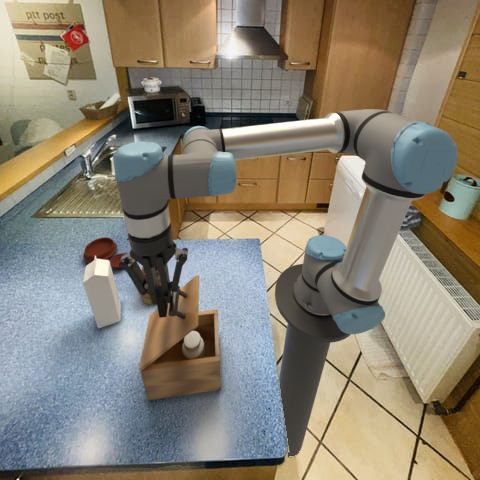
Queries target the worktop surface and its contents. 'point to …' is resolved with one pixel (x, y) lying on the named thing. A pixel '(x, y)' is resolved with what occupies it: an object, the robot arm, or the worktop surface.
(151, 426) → the worktop surface
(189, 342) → the supplement bottle
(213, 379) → the chest
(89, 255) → the pottery
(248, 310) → the worktop surface
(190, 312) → the chest lid
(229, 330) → the worktop surface
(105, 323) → the milk
